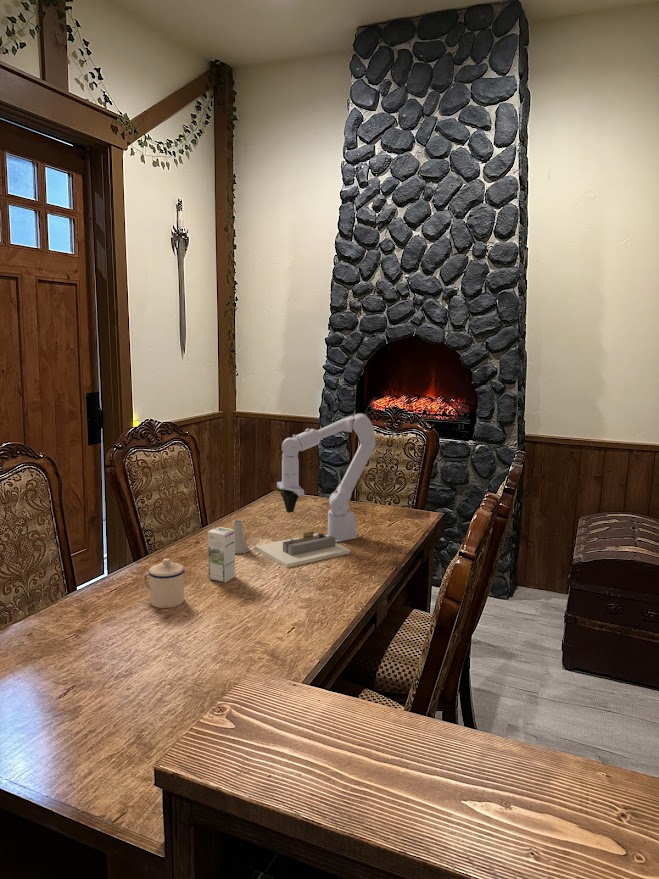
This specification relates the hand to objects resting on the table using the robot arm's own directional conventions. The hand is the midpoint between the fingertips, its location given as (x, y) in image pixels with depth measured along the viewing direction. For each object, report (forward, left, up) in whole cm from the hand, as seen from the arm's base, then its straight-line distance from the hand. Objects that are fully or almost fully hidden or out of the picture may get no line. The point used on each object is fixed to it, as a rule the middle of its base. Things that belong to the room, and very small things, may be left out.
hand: (290, 511), depth 221 cm
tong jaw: (+3, +14, -8) cm, 17 cm away
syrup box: (+36, +21, -10) cm, 43 cm away
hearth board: (+4, +14, -9) cm, 17 cm away
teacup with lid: (+56, +27, -10) cm, 63 cm away
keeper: (+1, +12, -8) cm, 14 cm away
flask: (+21, +2, -10) cm, 23 cm away
